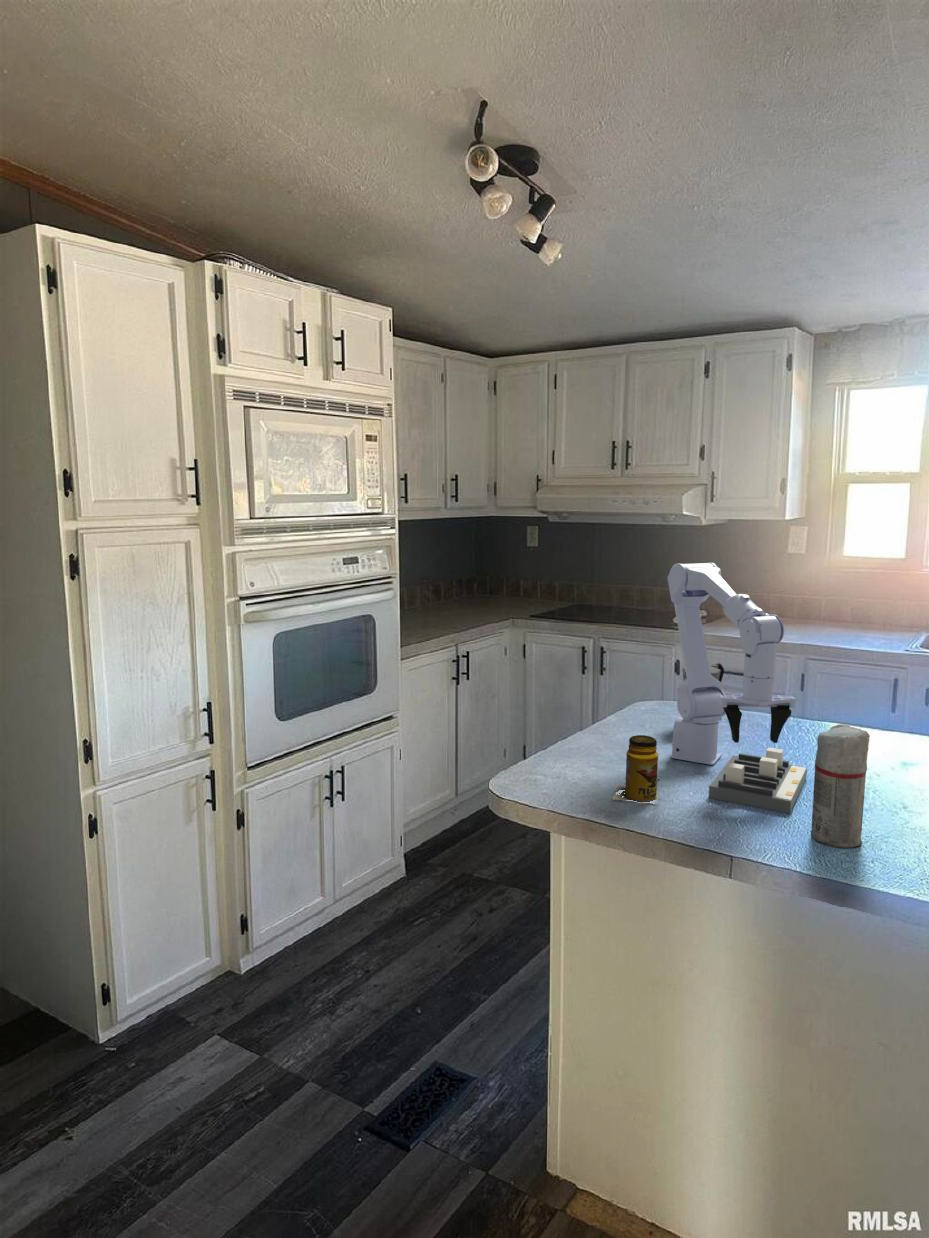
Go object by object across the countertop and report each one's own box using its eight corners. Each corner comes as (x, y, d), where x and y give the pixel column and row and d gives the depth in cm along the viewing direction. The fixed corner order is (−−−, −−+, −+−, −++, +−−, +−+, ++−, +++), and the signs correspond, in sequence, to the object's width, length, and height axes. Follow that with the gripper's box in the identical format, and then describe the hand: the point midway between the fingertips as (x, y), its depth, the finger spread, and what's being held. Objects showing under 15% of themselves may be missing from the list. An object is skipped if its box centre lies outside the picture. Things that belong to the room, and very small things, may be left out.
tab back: (765, 766, 163) (766, 750, 163) (767, 763, 165) (768, 747, 165) (780, 769, 162) (781, 752, 161) (782, 766, 164) (783, 749, 163)
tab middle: (758, 777, 158) (759, 760, 157) (761, 773, 160) (762, 756, 159) (774, 780, 156) (775, 762, 155) (776, 776, 158) (777, 759, 157)
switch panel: (708, 797, 154) (709, 781, 153) (732, 765, 172) (733, 750, 171) (790, 813, 146) (791, 796, 146) (806, 778, 164) (807, 763, 164)
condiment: (656, 805, 150) (659, 745, 148) (612, 800, 153) (614, 741, 151) (659, 792, 157) (661, 734, 155) (616, 787, 159) (618, 730, 157)
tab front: (725, 783, 154) (726, 766, 154) (727, 779, 156) (728, 762, 156) (740, 786, 153) (742, 768, 152) (743, 782, 155) (744, 765, 154)
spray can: (859, 854, 130) (869, 738, 127) (806, 842, 134) (814, 730, 131) (864, 835, 137) (874, 725, 134) (813, 825, 141) (822, 718, 138)
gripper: (728, 680, 152) (724, 747, 154) (803, 680, 152) (798, 748, 154) (717, 671, 159) (713, 736, 161) (789, 672, 159) (785, 736, 161)
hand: (754, 741), depth 158 cm, fingers open, 7 cm apart
